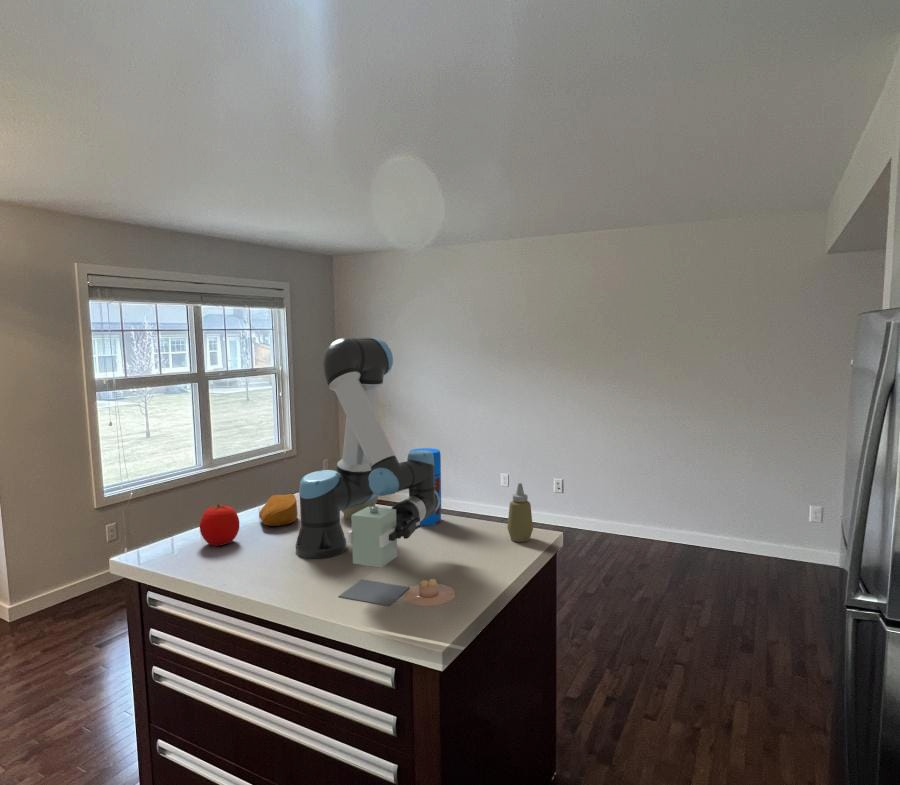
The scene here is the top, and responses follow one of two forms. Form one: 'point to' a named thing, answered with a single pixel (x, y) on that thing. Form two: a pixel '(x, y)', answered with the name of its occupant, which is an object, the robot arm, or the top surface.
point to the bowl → (429, 593)
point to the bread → (279, 510)
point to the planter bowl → (359, 507)
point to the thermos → (436, 516)
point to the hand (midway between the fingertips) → (364, 539)
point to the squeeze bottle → (520, 517)
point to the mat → (374, 592)
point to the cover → (373, 536)
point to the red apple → (219, 525)
